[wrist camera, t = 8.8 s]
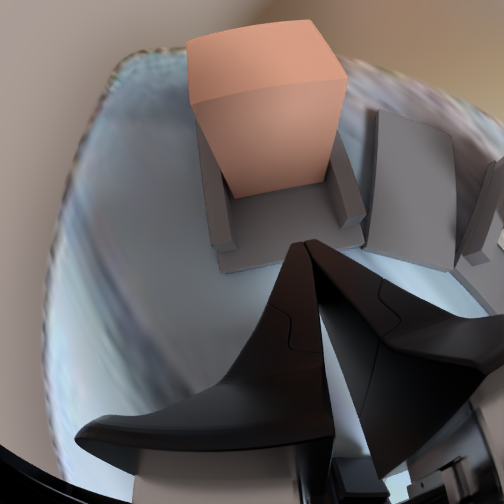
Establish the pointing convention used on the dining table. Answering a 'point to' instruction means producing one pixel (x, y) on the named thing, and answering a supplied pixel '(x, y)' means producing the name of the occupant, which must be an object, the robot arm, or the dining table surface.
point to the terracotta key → (267, 103)
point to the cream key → (501, 238)
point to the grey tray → (369, 211)
